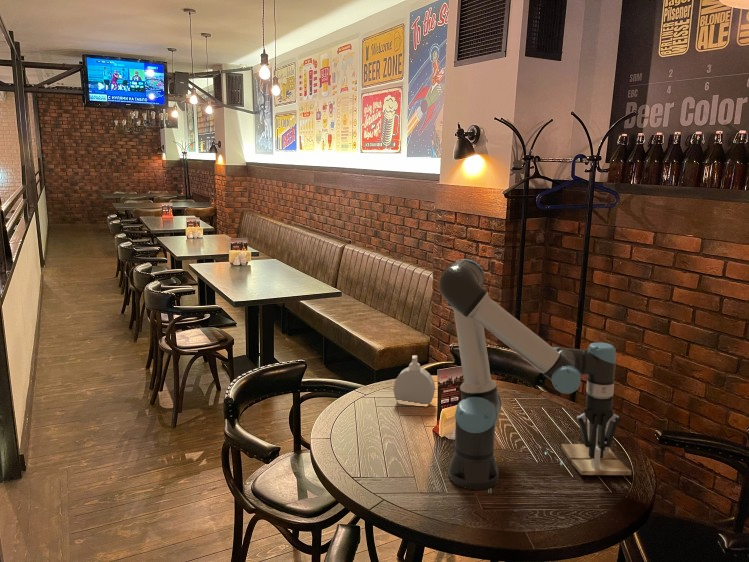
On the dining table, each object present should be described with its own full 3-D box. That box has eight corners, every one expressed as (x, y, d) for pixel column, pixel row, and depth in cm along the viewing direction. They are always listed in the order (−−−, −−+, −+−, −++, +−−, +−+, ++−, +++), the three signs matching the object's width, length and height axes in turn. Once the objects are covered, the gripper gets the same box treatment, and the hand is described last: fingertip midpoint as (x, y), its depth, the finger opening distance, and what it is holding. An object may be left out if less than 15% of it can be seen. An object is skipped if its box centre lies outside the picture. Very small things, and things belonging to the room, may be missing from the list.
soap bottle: (392, 404, 222) (393, 356, 218) (395, 399, 227) (396, 352, 223) (432, 409, 218) (433, 360, 214) (435, 403, 223) (436, 355, 219)
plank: (581, 474, 169) (581, 470, 169) (571, 463, 178) (571, 459, 178) (631, 475, 169) (631, 471, 169) (618, 463, 178) (618, 459, 178)
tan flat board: (570, 461, 179) (570, 458, 178) (561, 447, 188) (561, 444, 188) (617, 462, 178) (617, 458, 178) (606, 447, 188) (606, 444, 187)
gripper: (581, 399, 163) (577, 473, 167) (627, 399, 163) (621, 473, 167) (573, 390, 171) (569, 461, 175) (616, 389, 170) (611, 461, 175)
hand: (595, 467), depth 171 cm, fingers closed
